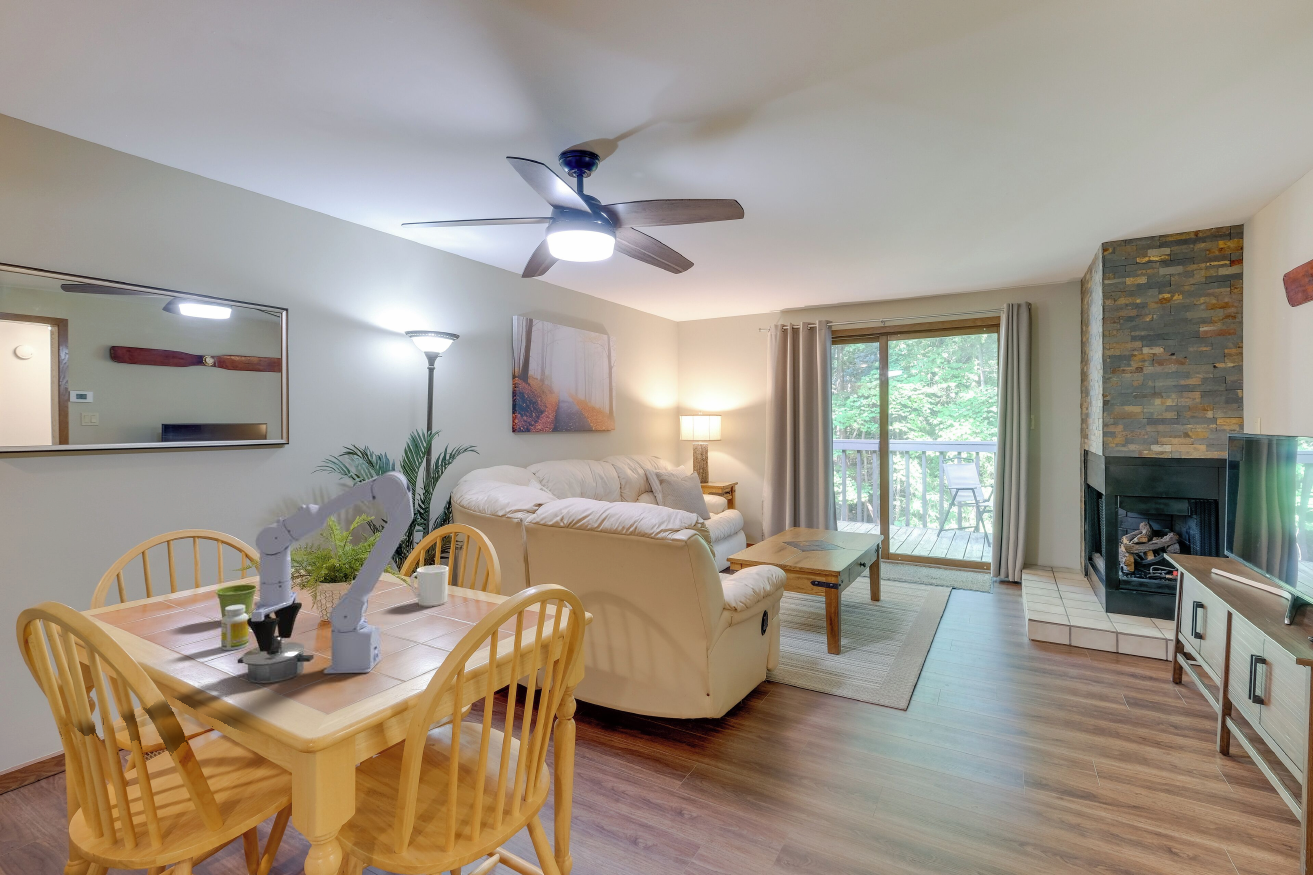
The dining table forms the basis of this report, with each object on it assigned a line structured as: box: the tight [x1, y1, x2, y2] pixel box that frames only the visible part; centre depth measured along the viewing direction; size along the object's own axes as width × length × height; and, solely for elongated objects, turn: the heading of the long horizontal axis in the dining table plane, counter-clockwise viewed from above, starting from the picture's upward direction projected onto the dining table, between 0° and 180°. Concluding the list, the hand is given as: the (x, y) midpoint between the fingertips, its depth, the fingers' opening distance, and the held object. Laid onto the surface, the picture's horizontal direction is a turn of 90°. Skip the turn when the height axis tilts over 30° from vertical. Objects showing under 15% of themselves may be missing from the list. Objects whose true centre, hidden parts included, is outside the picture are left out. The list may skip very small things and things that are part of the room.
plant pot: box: [214, 583, 258, 619], centre depth 166 cm, size 9×9×9 cm
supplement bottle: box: [220, 605, 250, 651], centre depth 147 cm, size 5×5×10 cm
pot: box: [237, 653, 314, 685], centre depth 131 cm, size 15×10×4 cm
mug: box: [410, 564, 449, 608], centre depth 182 cm, size 11×9×10 cm
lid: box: [241, 634, 305, 666], centre depth 131 cm, size 11×11×5 cm
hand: (275, 643), depth 131 cm, fingers open, 7 cm apart
